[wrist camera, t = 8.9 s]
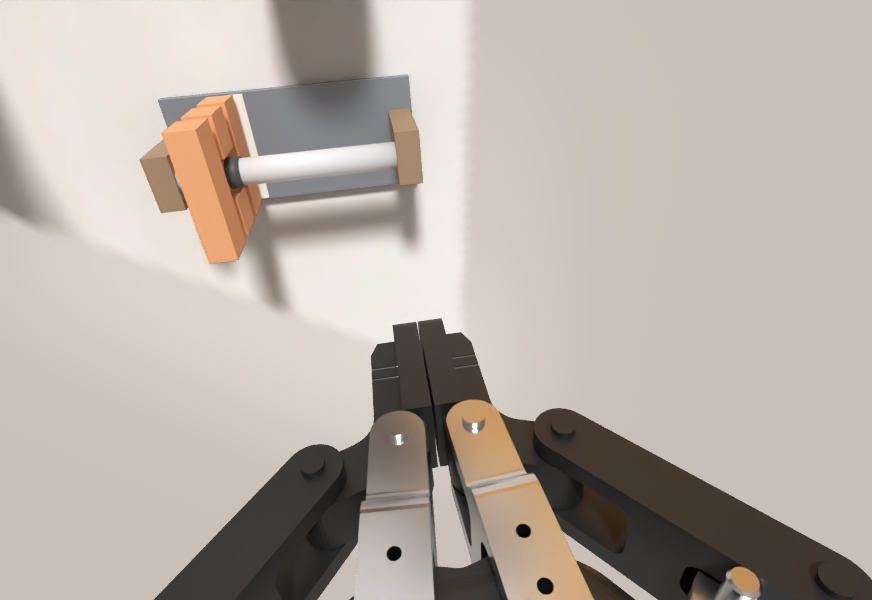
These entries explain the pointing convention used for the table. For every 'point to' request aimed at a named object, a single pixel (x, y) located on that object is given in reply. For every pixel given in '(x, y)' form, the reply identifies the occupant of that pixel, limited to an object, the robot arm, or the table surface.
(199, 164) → the collar
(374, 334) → the table surface
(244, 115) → the pipe stand
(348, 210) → the table surface
